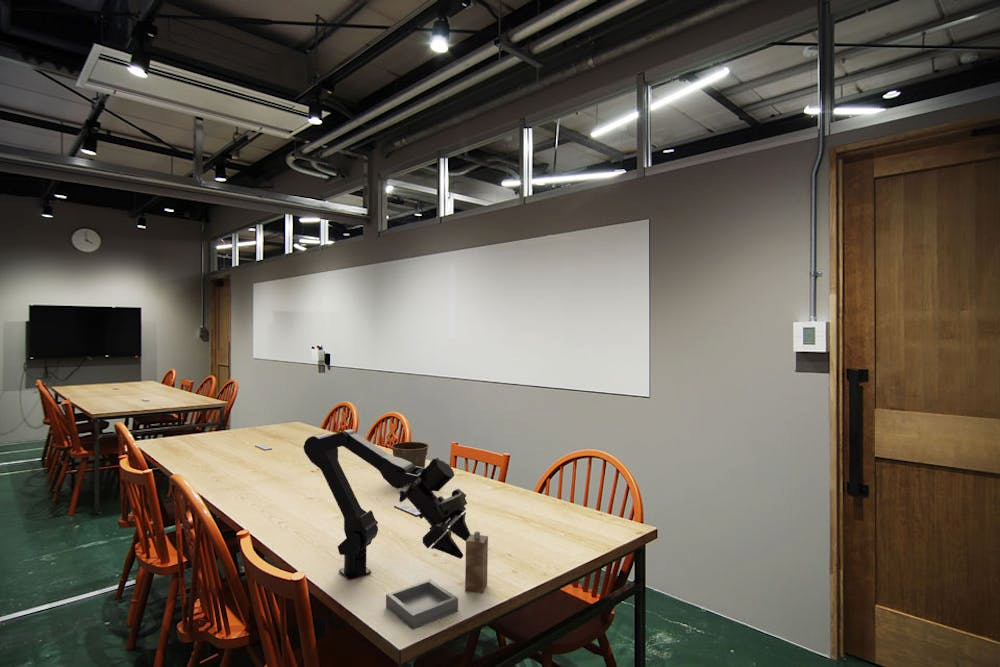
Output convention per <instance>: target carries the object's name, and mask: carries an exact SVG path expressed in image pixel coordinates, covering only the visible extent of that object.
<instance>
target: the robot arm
mask: <svg viewBox="0 0 1000 667" xmlns="http://www.w3.org/2000/svg"><path fill="white" fill-rule="evenodd" d="M339 447H344V448H345V449H347V450H348V451H350V452H351V453H353V454H354V455H356V456H357V457H359V458H360V459H362V460H363V461H364V462H366V463H367V464H369V465H370V466H372V467H373V468H375V469H376V470H378V472H379V473H380V475H381V477H382V479H383V480H385V481H386V482H387V483H388V484H389V485H390V486H391V487H392V488H394V489H402V490H400V491H399V502H400V503H403V502H404V501H405V500H407V499H408V500H409V502H410V503H411V504H412V505H413V507H414V508H415V509H416V510H417V511H418V513H419V515H418V518H420V520H422V519H423V518H424V520H426V522H427V523H428V524H429V525H430V527H429V528H428V529H429V530H428V532H426V534H425V535H424V536H422V544H423V546H425V548H426V549H429V548H430V549H431V550H433V549H434V550H437V551H440V552H442V553H446V554H447V555H450V556H452V557H455V558H457V559H462V558H463V557H464V554H463V552H462V550H461V549H460V547H459V546H458V544H457V543H456V541H454V539H453V538H452V534H454V535H456V537H459V538H460V539H461V540H463V541H465V542H466V540H467V539H468V538H469V536H470V535H471V532H470V530H469V528H468V525H467V523H466V515H467V512H466V510H467V507H465V506H466V505H467V504H468V502H467V500H466V497H467V494H466V493H464V491H462V490H461V489H460V488H457V489H454V490H453V491H452V492H451V496H449V497H448V498H446V499H445V498H444V497H443V496H441V495H439V496H437V495H435V493H434V491H435V492H440V490H442V489H443V488H444V487H445V486H446V485H447V483H449V482H450V481H451V480H452V479H453V478H454V476H455V473H454V472H455V471H454V470H453V469H452V467H451V466H450V464H448V463H446V462H445V461H443V460H440V458H438V457H437V456H436V457H435V458H433V459H432V460H430V462H429V464H428V465H427V466H425V468H422V467H417V466H415V465H414V464H413V463H411V462H409V461H407V460H404V459H402V458H398V457H394V456H393V455H391V454H388V453H387V452H386V451H385V450H382V449H381V448H380V447H378V446H376V445H375V444H374V443H372V442H371V441H369V440H367V438H364V437H363V436H362V435H360V434H358V433H357V431H356V430H354V429H351V428H349V429H344V430H343V431H340V432H337V433H329V432H321V433H319V434H315V435H312V436H309V437H308V438H307V439H306V440H305V442H304V444H303V451H304V452H303V453H305V455H306V456H307V458H308V460H309V461H310V462H311V463H312V464H313V465H314V466H316V467H317V468H318V469H320V471H321V473H322V475H323V477H324V478H325V480H326V483H327V485H328V487H329V489H330V491H331V493H332V495H333V498H334V500H335V501H336V504H337V507H338V508H339V510H340V512H341V514H342V516H343V532H344V535H345V539H344V540H343V541H342V542H341V543H340V544H339V545H338V546H337V550H338V553H339V555H340V556H344V558H343V560H344V561H343V568H339V569H338V572H339V573H340V574H341V575H342V576H344V577H345V578H346V579H347V580H352V579H356V578H359V577H363V576H366V575H369V574H371V573H372V570H371V569H370V568H369V567H367V551H368V550H367V547H368V546H369V545H371V544H372V541H373V540H374V539H375V538H376V536H378V531H379V527H378V523H379V522H378V521H377V519H376V518H375V515H374V512H373V511H372V510H371V509H370V510H368V511H366V510H364V509H363V508H362V507H361V505H360V502H359V501H358V499H357V497H356V494H355V492H354V491H353V489H352V486H351V485H350V482H349V481H348V478H347V477H346V474H345V472H344V471H343V467H342V466H341V464H340V461H339ZM419 478H420V479H421V481H420V482H419V483H414V482H415V481H417V480H418V479H419ZM410 483H412V484H411V485H409V486H408V485H407V484H410ZM406 486H408V487H407V488H406V489H403V488H404V487H406ZM464 511H465V512H464Z"/></svg>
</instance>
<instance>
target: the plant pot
mask: <svg viewBox="0 0 1000 667" xmlns="http://www.w3.org/2000/svg"><path fill="white" fill-rule="evenodd" d="M390 447H391V448H392V456H394V457H398V458H402V459H404V460H407V461H409V462H411V463H413V464H414V465H415V466H417V467H422V468H426V459H427V455H428V449H429V447H430V445H429V444H428V443H425V442H419V441H404V442H403V441H402V442H396V443H393V444H392V445H391V446H390ZM420 481H421V479H420V478H419V479H418V480H417V481H415V482H414V483H419V482H420ZM411 484H412V483H410V484H407V485H406V486H408V485H409V486H410V485H411Z"/></svg>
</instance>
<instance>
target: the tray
mask: <svg viewBox="0 0 1000 667" xmlns="http://www.w3.org/2000/svg"><path fill="white" fill-rule="evenodd" d="M385 608H386V609H387V610H389V611H390V612H391V613H393V615H395V616H396V617H397V618H398V619H399V620H401V621H402V623H404V624H405V625H407V626H408V628H410V629H411V630H412V631H414V630H415V629H418V628H420V627H423V626H425V625H428V624H431V623H433V622H435V621H437V620H440V619H442V618H445V617H447V616H449V615H452V614H454V613H457V612H459V598H458V597H457V596H456V595H454V594H453V593H452V592H450V591H448V589H445V588H444V587H443V586H441V585H440V584H438V583H436V582H435V581H434V580H432V579H431V578H430V579H426V580H424V581H421V582H417V583H414V584H411V585H408V586H406V587H402V588H400V589H398V590H394V591H391V592H389V593H388V592H387V593H386V594H385Z"/></svg>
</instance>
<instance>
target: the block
mask: <svg viewBox="0 0 1000 667" xmlns="http://www.w3.org/2000/svg"><path fill="white" fill-rule="evenodd" d="M470 534H471V533H470ZM488 546H489V536H488V535H481V532H480V531H474V533H473V534H471V535H470V536H469V538H468V539H467V540H466V541H465V571H464V572H465V575H464V576H465V578H464V579H465V581H464V582H465V583H464V592H467V593H474V594H475V593H476V594H484V592H485V590H486V588H487V586H488V562H489V561H488V560H489V559H488V557H489V556H488V553H489V552H488V551H489V549H488V548H489V547H488Z"/></svg>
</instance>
